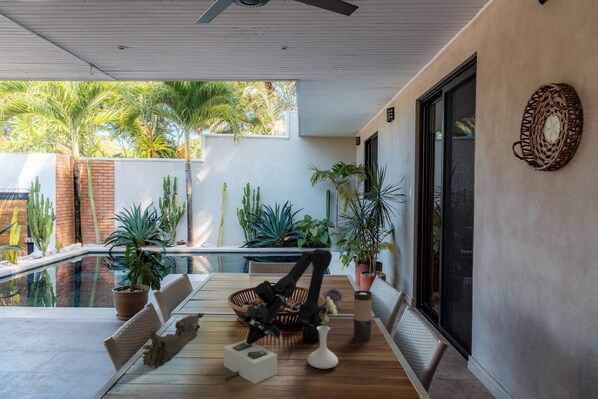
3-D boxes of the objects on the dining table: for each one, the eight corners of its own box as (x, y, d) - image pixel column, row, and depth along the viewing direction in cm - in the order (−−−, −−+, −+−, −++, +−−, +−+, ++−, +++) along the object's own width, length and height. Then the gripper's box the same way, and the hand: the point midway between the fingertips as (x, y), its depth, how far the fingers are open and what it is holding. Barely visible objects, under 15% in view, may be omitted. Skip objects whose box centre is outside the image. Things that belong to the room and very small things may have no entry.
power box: (245, 357, 152) (245, 339, 151) (276, 374, 139) (277, 354, 139) (211, 370, 141) (211, 350, 141) (242, 389, 128) (242, 367, 128)
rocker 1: (245, 343, 148) (245, 340, 148) (251, 346, 146) (251, 343, 145) (232, 350, 144) (232, 347, 144) (238, 353, 141) (238, 350, 141)
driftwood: (139, 375, 133) (140, 331, 135) (196, 340, 185) (196, 309, 186) (154, 375, 132) (155, 330, 134) (207, 340, 184) (207, 309, 186)
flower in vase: (329, 374, 139) (330, 304, 138) (301, 366, 145) (302, 299, 144) (345, 361, 150) (346, 296, 149) (319, 354, 156) (320, 291, 155)
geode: (345, 313, 208) (343, 295, 207) (323, 315, 208) (321, 297, 208) (343, 301, 228) (341, 284, 227) (323, 303, 229) (321, 286, 228)
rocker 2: (260, 353, 142) (261, 350, 142) (267, 357, 139) (267, 353, 139) (247, 355, 137) (248, 351, 138) (254, 358, 135) (254, 355, 135)
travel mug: (372, 336, 176) (373, 291, 175) (368, 342, 169) (369, 295, 168) (356, 333, 179) (357, 289, 178) (351, 339, 172) (352, 293, 172)
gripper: (244, 292, 156) (219, 326, 149) (275, 303, 143) (250, 341, 135) (259, 308, 162) (236, 342, 154) (290, 320, 149) (267, 357, 141)
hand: (246, 345), depth 146 cm, fingers closed, pressing on rocker 1
